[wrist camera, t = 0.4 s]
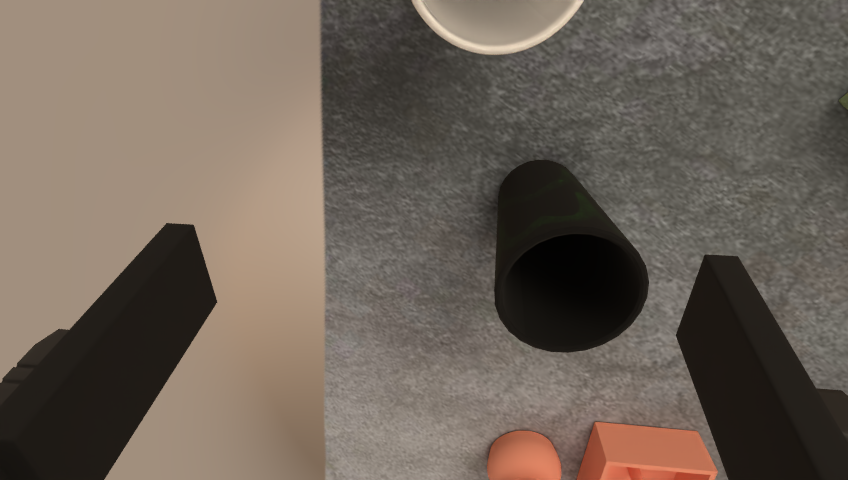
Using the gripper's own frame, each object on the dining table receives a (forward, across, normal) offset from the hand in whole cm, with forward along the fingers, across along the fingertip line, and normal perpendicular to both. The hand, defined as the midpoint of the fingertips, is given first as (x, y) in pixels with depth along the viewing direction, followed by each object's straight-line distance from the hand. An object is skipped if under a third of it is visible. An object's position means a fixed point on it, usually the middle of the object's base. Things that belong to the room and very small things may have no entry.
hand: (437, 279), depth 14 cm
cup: (+22, +5, -10) cm, 25 cm away
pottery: (+20, +12, -36) cm, 43 cm away
